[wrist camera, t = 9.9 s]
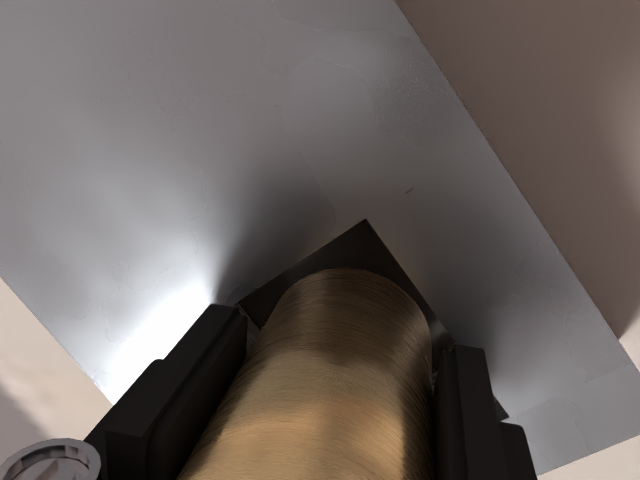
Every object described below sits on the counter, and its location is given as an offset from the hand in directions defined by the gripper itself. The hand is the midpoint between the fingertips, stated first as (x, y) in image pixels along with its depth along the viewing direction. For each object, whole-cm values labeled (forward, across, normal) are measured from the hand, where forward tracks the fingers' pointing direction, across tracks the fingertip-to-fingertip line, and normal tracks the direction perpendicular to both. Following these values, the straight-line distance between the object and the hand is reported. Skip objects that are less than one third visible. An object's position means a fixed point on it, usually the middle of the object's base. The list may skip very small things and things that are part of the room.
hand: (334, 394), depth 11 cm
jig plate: (+4, +3, -3) cm, 5 cm away
